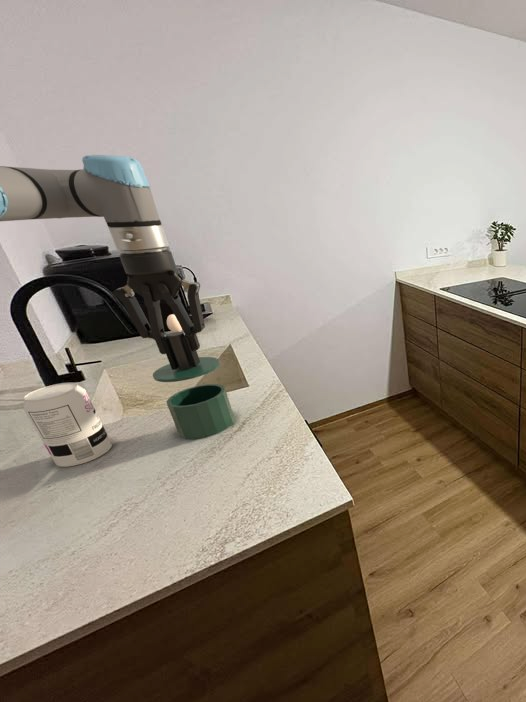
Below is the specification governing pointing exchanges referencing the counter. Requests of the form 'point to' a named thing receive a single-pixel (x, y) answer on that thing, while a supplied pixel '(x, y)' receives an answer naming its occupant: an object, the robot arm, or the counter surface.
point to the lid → (183, 363)
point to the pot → (201, 411)
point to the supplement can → (67, 423)
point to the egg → (173, 324)
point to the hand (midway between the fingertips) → (186, 365)
